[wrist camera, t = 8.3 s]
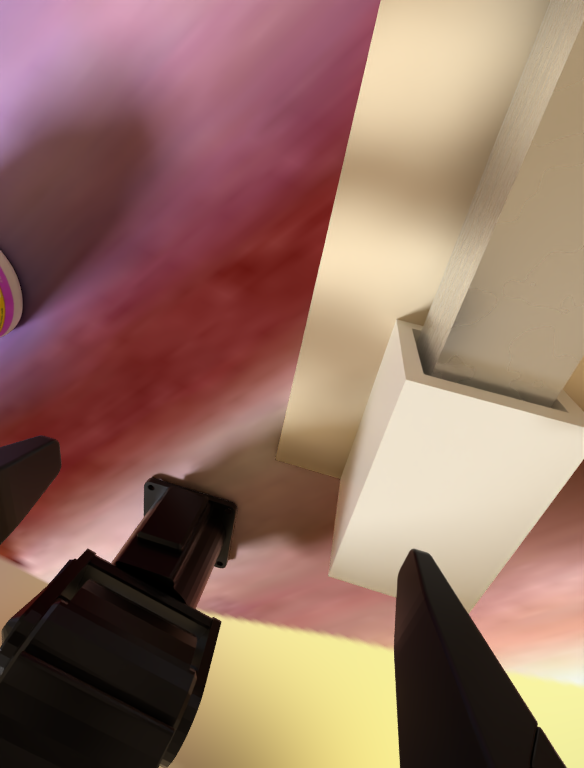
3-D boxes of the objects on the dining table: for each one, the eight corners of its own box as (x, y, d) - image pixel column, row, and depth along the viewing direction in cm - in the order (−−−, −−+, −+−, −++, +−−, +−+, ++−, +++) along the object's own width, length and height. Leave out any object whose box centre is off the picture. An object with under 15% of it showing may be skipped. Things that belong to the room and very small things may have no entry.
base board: (509, 522, 22) (512, 529, 21) (276, 454, 23) (275, 460, 22) (1160, -418, 8) (1207, -454, 8) (491, -474, 9) (497, -508, 9)
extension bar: (498, 386, 17) (530, 438, 13) (408, 363, 17) (417, 407, 13) (844, -258, 9) (1171, -571, 5) (659, -280, 9) (845, -589, 5)
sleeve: (441, 508, 22) (464, 619, 16) (340, 479, 22) (328, 576, 17) (528, 352, 17) (603, 432, 11) (396, 319, 17) (405, 379, 12)
